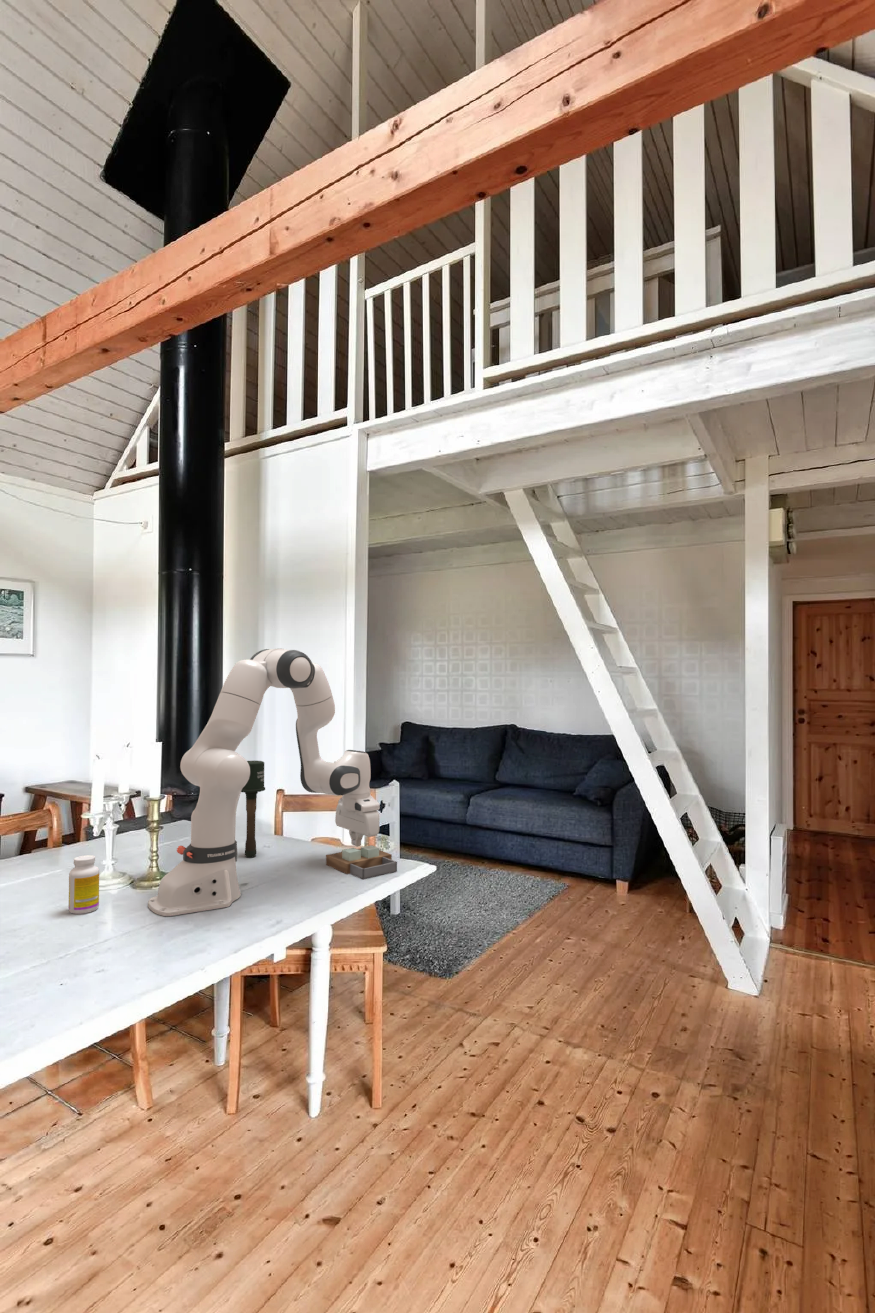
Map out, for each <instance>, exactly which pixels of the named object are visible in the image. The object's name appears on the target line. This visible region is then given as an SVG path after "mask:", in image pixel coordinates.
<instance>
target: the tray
mask: <svg viewBox="0 0 875 1313" xmlns="http://www.w3.org/2000/svg"><path fill="white" fill-rule="evenodd" d="M397 872H398V861H395V860H393V859H392V860H391V859H388V858H385V857H382V865H378V866H374V867H369V868H365V869H363V868H361V867H358V866H356V865H353V864H350V874H349V875H351V876H354V877H357V878H359V879H361V880H366V879H367V880H368V879H370V878H374V877H380V876H383V875H387V874H391V873H397Z"/></svg>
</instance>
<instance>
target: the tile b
mask: <svg viewBox="0 0 875 1313" xmlns="http://www.w3.org/2000/svg"><path fill="white" fill-rule="evenodd" d="M360 848H361V856H363V857H366V858H372V857H377V856H379V850H380V847H377V846H375V845H373V844H372V845H371V844H370V845H365V846H360Z"/></svg>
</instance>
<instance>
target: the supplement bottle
mask: <svg viewBox="0 0 875 1313" xmlns="http://www.w3.org/2000/svg"><path fill="white" fill-rule="evenodd" d="M95 862H96V856H95V855H92V854H91V855H85V854H84V855H80V856H76V857H74V858H73V865H74V867H73V868H72V869H70V871H69V873H68V875H69V876H68V912H69V913H71V914H74V915H82V914H83V915H84V914H89V913H92V912H94V911H96V910H98V908H99V906H100V869H99V867H98V866H96V865H95Z"/></svg>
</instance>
